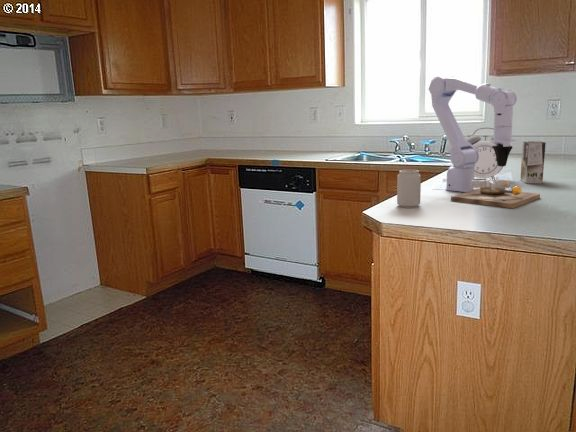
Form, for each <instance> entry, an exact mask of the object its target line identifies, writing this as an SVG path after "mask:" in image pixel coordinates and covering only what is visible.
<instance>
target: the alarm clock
mask: <svg viewBox="0 0 576 432" xmlns="http://www.w3.org/2000/svg"><path fill="white" fill-rule="evenodd" d="M485 129H489V130H493V131H494V127H493V128H492V127H480V128H476V130H474V132H473V133H472V134H471V135H469V134H468V135H467V138H465V140H466V141H468V142H469V143H471V144H472V146H473V148H474V149H476V150H477V151H478V153H479V160H478V161H477V163H475V169H474V178H476V179H484V178H485V179H486V178H490V179H491V180H493V179H495V177H494V176H496V175H497V174H499V173H500V172H501V171H502V170H503V169H504V166H498V165H497V160H496V154H495V151H494V149H493V147H492V146H497V145H498V144H496V142H493V140H494V135H492V136H491V137H489V135H483V136H482V137H483V138H484V140H483V141H482V137H481V136H480V135H475V133H477V131H480V130H485ZM487 138H489V140H490V141H488V140H487Z"/></svg>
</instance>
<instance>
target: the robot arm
mask: <svg viewBox="0 0 576 432" xmlns="http://www.w3.org/2000/svg"><path fill="white" fill-rule="evenodd" d="M428 91H429V94H430V96H431V105H432V106H431V107H432V109H433V111H434V113H435V114H436V117H437V119H438V121H439V123H440V125H441V128H442V130H443V132H444V133H445V136H446V139H447V140H448V142H449V144H450V147H449V150H448V153H449V155H450V162H451V166H449V167H448V169H447V172H446V187H445V191H453V192H461V193H465V192H468V191H472V190H475V189H478V188H472V187H471V183H472V180H475V177H474V169H475V163H477V161H478V160H479V153H478V151H477V150H476V149H474V148H473V146H472V144H471V143H469V142H468V141H466V138H465V136H464V135H463V132H462V130H461V128H460V126H459V124H458V122H457V120H456V117H455V115H454V113H453V111H452V109H451V107H450V101H451V100H452V98H453V96H454V95H455V94H456V92H457V91H462V92H464V93H465V92H466V93H469V94H471V95H475V98H476V99H477V100H478V101H481V102H483V103H487V104H490V105H492V107H493V108H494V109H493V112H494V114H493V117H494V119H493V120H494V122H493V123H494V124H493V129H494V130H493V136H494V140H493V141H492V142H494V143H495V142H496V144H498V145H497V146H492V147H493V149H494V151H495V154H496V160H497V165H498V166H503V167H506V166H507V163H508V158H509V155H510V153H511V151H512V149H513V146H511V142H516V139H515V138H512V135H513V114H514V112H513V111H514V110H513V109H514V108H513V107H514V105H515V104H516V103H517V94H516V93H515V92H514V91H512V90H511V89H508V90H504V88H503V87H496V86H493V85H492V84H491V83H490V82H486V83H481V84H480V85H479V84H475V83H474V82H471V81H469V80H468V81H467V80H466V79H463V78H461V77H454V76H436V77H433V79H432V80H431V82H430V84H429V86H428ZM452 165H453V166H452Z"/></svg>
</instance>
